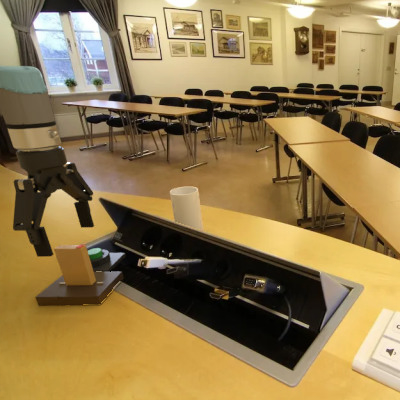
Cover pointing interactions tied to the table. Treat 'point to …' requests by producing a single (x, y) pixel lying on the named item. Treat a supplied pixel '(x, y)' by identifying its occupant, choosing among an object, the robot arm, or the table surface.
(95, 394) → the table surface
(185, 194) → the cup
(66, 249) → the tan upright slab
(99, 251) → the release button
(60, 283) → the lock plate
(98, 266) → the block
